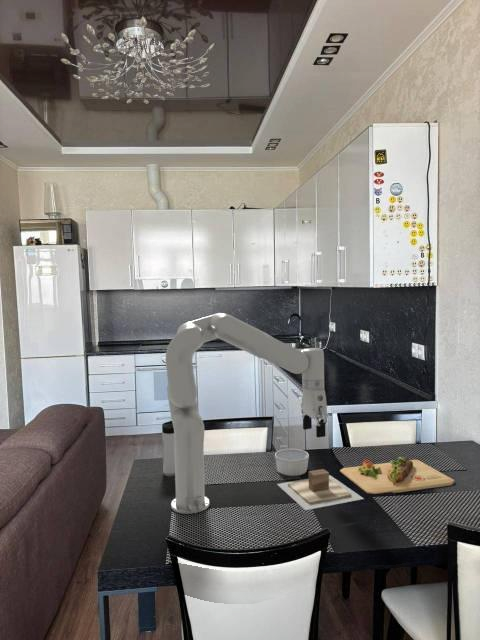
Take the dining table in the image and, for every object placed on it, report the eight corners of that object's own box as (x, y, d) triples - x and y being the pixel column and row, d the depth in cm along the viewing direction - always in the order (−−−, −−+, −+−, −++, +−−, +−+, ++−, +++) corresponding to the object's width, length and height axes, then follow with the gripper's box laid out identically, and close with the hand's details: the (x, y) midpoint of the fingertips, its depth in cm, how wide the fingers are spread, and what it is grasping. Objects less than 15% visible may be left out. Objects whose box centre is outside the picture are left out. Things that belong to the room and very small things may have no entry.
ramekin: (307, 479, 178) (307, 461, 178) (272, 477, 181) (272, 459, 181) (310, 466, 191) (309, 449, 191) (277, 464, 194) (277, 447, 194)
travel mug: (181, 470, 189) (180, 420, 188) (177, 476, 183) (176, 425, 181) (165, 470, 190) (164, 420, 188) (161, 476, 183) (160, 425, 182)
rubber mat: (364, 500, 160) (364, 498, 160) (305, 511, 152) (305, 510, 152) (330, 476, 181) (330, 475, 180) (276, 485, 173) (276, 484, 173)
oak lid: (351, 496, 162) (351, 476, 161) (309, 504, 156) (309, 484, 156) (327, 479, 177) (327, 461, 176) (287, 485, 171) (287, 467, 171)
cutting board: (369, 498, 163) (369, 476, 162) (338, 473, 186) (338, 454, 185) (456, 486, 172) (457, 465, 171) (416, 463, 194) (417, 445, 194)
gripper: (335, 387, 158) (336, 438, 159) (311, 378, 174) (311, 425, 175) (315, 389, 156) (316, 441, 157) (292, 380, 172) (293, 427, 173)
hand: (313, 432), depth 166 cm, fingers open, 9 cm apart
